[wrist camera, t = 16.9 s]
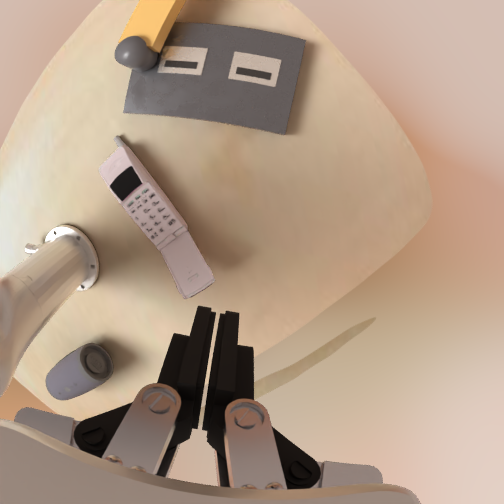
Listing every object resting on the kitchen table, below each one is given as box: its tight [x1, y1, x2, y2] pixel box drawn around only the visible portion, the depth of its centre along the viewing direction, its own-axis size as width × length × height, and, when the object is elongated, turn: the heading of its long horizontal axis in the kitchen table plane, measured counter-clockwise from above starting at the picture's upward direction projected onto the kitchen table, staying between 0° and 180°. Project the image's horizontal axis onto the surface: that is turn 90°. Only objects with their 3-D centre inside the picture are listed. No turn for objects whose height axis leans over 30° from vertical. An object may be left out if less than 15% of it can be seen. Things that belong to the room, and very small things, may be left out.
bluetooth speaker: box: [46, 343, 113, 400], centre depth 48 cm, size 23×9×10 cm, turn 126°
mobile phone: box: [99, 136, 215, 299], centre depth 36 cm, size 6×6×25 cm
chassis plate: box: [123, 23, 306, 135], centre depth 30 cm, size 22×14×2 cm, turn 78°
